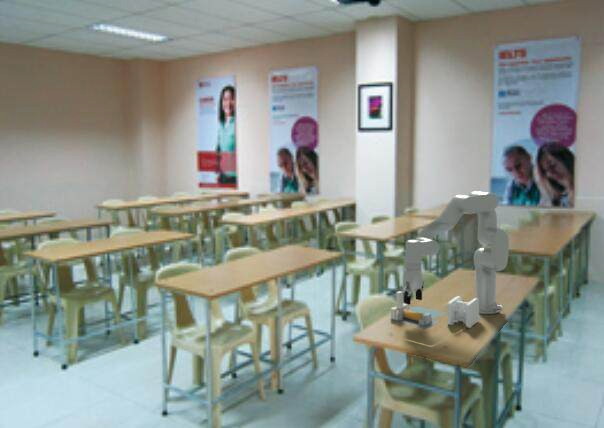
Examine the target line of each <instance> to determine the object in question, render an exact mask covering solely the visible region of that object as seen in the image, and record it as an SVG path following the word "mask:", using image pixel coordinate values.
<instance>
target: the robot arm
mask: <svg viewBox="0 0 604 428" xmlns="http://www.w3.org/2000/svg"><path fill="white" fill-rule="evenodd" d="M499 204H500V199H499V197H498V195H497V194H496V193H494V192H488V191H480V190H479V191H478V190H477V191H476V190H475V191H472V192H469V194H468V195H462V194H457V195H455V196H453V197H452V198H451V199H450V201H448V203H447V205H446V206H445V208H443V210H442V212H441V213H440V214H439V216H438V217H437V218H435V219H434V220H432V221H431V222H430V223H428V224H427V225H426V226H425V227H423V228H422V229H421V231H420V232H419V233H418V234H417V236H416V238H415V239H408V240H406V242H405V254H404V255H405V258H404V259H405V262H404V264H405V267H404V268H405V269H404V270H403V272H404V273H403V280H402V282H403V283H402V287H401V291H402V292H403V303H405V304H409V305H411V299H412V298H411V297H412V296H411V294H412V292H415V299H416V300H418V301H422V300H423V291H424V290H423V289H424V285H425V281H424V280H423V270H422V269H423V264H422V263H423V262H422V261H423V256H431V257H433V256H436V255H438V253H439V252H440V249H441V247H440V243H439V242H438V241H436V240H434V238H435V237H436V236H438V235H439V234H441V233H444V232H448V231H450V230H452V229H453V228H455V226H456V224H458V222H459V221H460V219H462V216H463V215H464V214H465V215H476V214H477V217H478V219H477V220H478V222H477V223H478V224H477V225H478V227H477V240H478V242H479V244H481V245H484V246H486V247H478V248H477V249H476V250H475V252H474V254H473V263H474V270H475V298H478V299H479V314H483V315H493V314H497V313H499V312H501V311H502V312H503V311H504V306H503V305H500V304H498V301H497V300H496V299H497V296H496V295H497V293H496V292H497V274H496V272H500V271H501V272H502V271H503V270H504V269H505V268H506V267H507V265H508V263H509V262H508V261H509V248H510V238H509V234H508V233H507V232H506V231H505V229H503V228H499V227H498V217H497V211H496V209H497V208H498V206H499ZM489 247H490V248H489Z"/></svg>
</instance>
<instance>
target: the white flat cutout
mask: <svg viewBox="0 0 604 428" xmlns="http://www.w3.org/2000/svg"><path fill="white" fill-rule="evenodd" d="M395 303H396V306H393V307H391V308H390V319H394V320H396V316H397V311H398V310H399V309H401V308H407V310H409V309H410V307H409V304H405V303H404V295H403V291H402V290H401V291H400V290H399V291H397V292H396V293H395Z"/></svg>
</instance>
